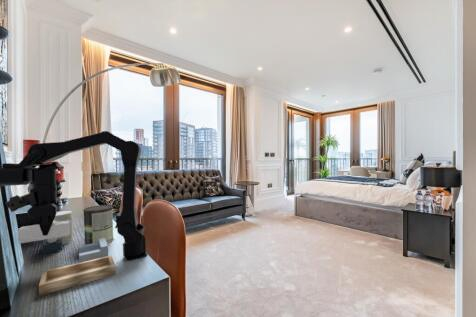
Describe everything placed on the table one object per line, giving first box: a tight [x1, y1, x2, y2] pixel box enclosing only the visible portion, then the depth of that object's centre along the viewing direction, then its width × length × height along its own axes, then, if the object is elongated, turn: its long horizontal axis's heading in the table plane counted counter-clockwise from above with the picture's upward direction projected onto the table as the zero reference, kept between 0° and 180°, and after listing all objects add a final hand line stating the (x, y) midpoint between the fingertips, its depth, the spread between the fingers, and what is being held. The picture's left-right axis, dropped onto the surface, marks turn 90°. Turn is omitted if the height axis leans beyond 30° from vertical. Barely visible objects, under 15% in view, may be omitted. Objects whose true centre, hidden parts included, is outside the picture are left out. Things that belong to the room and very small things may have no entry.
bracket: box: [78, 237, 109, 263], centre depth 79 cm, size 8×10×4 cm
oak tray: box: [38, 254, 117, 297], centre depth 66 cm, size 17×9×3 cm, turn 125°
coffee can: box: [82, 204, 114, 245], centre depth 94 cm, size 10×10×14 cm
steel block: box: [17, 220, 70, 245], centre depth 72 cm, size 12×4×4 cm, turn 121°
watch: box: [42, 221, 63, 255], centre depth 86 cm, size 6×8×11 cm
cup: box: [54, 210, 74, 246], centre depth 95 cm, size 8×8×12 cm
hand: (46, 233), depth 72 cm, fingers closed on steel block, 4 cm apart
